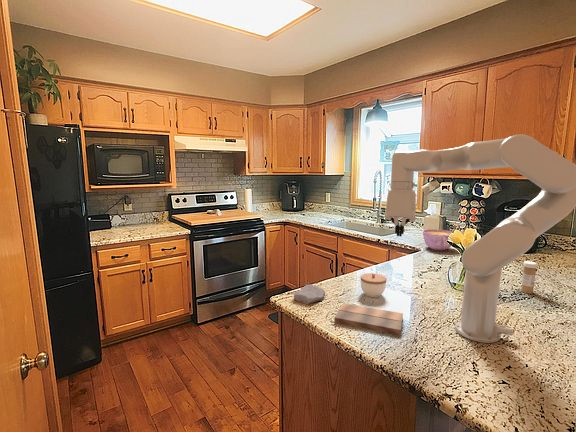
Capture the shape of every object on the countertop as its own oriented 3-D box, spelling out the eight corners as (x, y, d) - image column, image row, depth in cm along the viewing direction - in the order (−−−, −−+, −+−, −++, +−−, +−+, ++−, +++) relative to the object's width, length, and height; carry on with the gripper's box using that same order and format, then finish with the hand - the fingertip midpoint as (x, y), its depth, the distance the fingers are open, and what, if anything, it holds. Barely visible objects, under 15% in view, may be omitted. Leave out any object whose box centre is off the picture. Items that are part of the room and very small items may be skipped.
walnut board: (401, 327, 106) (401, 321, 105) (400, 335, 100) (400, 330, 100) (338, 315, 114) (338, 310, 114) (334, 322, 109) (334, 317, 108)
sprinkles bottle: (527, 289, 138) (531, 260, 136) (536, 294, 133) (540, 263, 131) (517, 290, 138) (521, 260, 136) (525, 294, 133) (529, 264, 131)
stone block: (326, 300, 132) (307, 290, 137) (328, 290, 130) (309, 281, 136) (311, 311, 123) (291, 300, 128) (313, 301, 121) (293, 290, 127)
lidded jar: (387, 300, 127) (388, 278, 125) (360, 298, 129) (361, 277, 128) (384, 290, 137) (385, 270, 136) (359, 288, 139) (360, 268, 138)
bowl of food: (452, 254, 194) (454, 236, 192) (418, 250, 205) (419, 233, 203) (455, 247, 210) (457, 231, 209) (424, 244, 221) (425, 228, 219)
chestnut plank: (402, 318, 112) (402, 313, 111) (401, 326, 106) (401, 321, 106) (342, 307, 120) (342, 303, 120) (338, 314, 115) (338, 309, 114)
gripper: (424, 186, 112) (421, 235, 115) (381, 185, 118) (379, 232, 121) (424, 187, 106) (421, 239, 108) (379, 186, 111) (377, 236, 114)
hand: (399, 235), depth 115 cm, fingers closed
